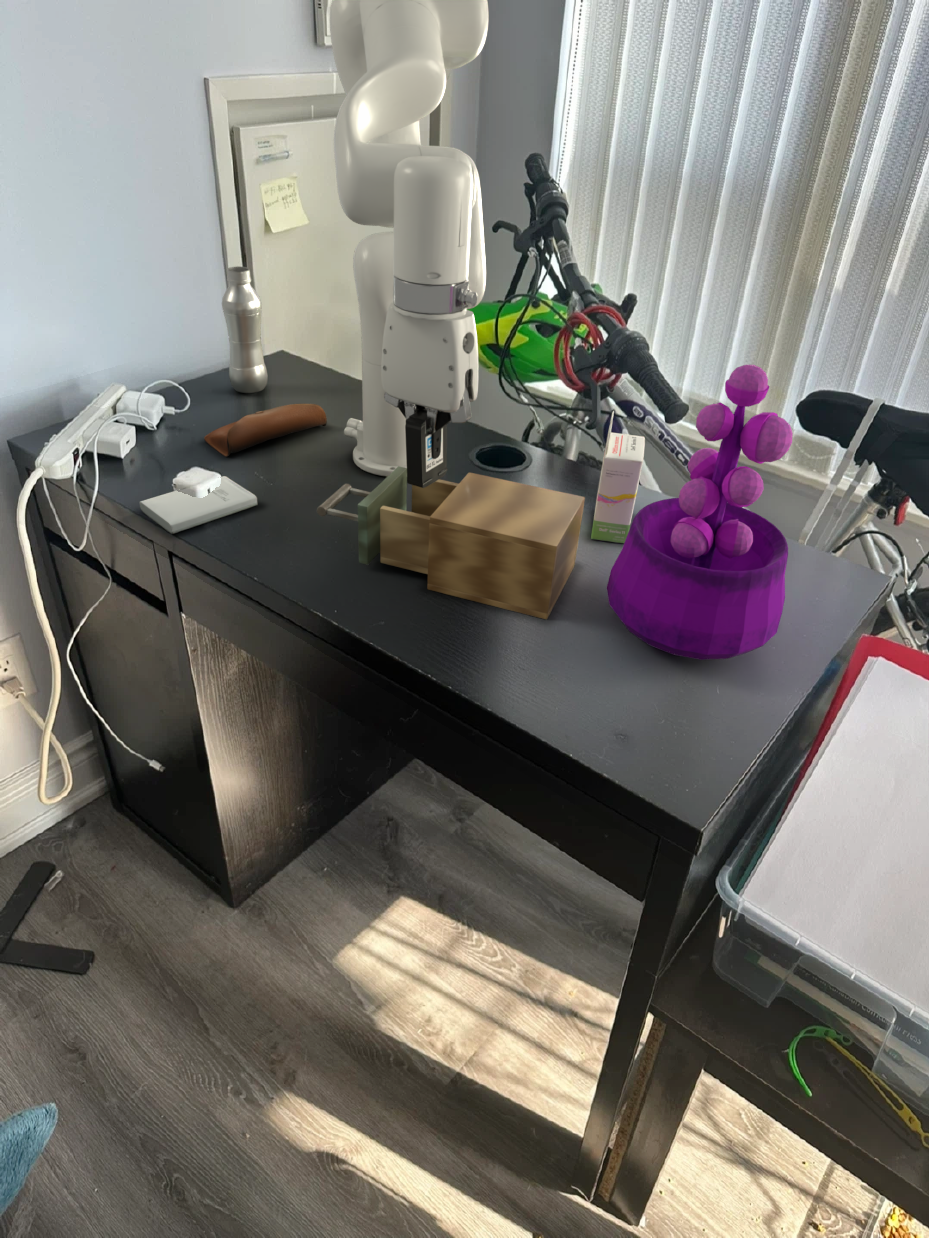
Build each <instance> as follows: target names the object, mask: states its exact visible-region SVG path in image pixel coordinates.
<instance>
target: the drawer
mask: <svg viewBox="0 0 929 1238" xmlns="http://www.w3.org/2000/svg"><path fill="white" fill-rule="evenodd" d="M458 484H459V483H457V482H453V481H449V480H445V479H441V478H440V479H439V480H437V481H435V482H434V483H432V484H430V485H429V486H427V487H425V488H421V487H418V486H415V485H411V511H408V510H407V498H408V494H407V493H408V492H407V491H408V490H407V489H408V483H407V468H404V467H400V466H398V467H397V468H396V469H395V470H394V471H393V472H392V473H391V474H390V475H389V476H386V477H385V478H384V479H383V480H382V481H381V482H380V483H379V484H377V486H376V487H375V488H374V489H373V490H372V491H367V490H363V489H357V488H354V487H352V485H351V484H350V483H344V484H343V485H341V487H339V489H337V490H335V492H334V493H332V494H331V495H330V496H329V497H328V498H327V499H326V500H324V501H323V502H322V503H321V504H320V505H319V506H318V507H317V508H316V513H317V514H318V516H320V517H326V516H327V515H328V516H333V517H336V518H340V519H344V520H349V521H354V522H357V536H358V540H357V541H358V563H359V564H363V565H366V566H369V565H370V563H371V562H372V561H374V559H375V558H376V557H377V556H378V554H379V553H380V554H379V555H380V556H379V557H380V562H379V563H381V564H385V565H388V566H393V567H397V568H400V569H405V570H409V571H413V572H417V573H421V574H425V575H428V553H429V524H430V523H429V521H430V516H431V515H432V514H433V513H434V512H435V511H436V509H437V508H438V507H439V506H440V505H441V504H442V503H443V501H444V500H445V499H446V498H447V497H448V496H449V495H450V493H451V492H452V491H453V490H454V489H455V488H456V487H457V485H458ZM349 495H353V496H357V497H362V498H363V499H362V500H361V501H360V502H359V503H358V504H357V514H356V513H351V512H347V511H343V510H339V509H335V508H336V507H337V506H338V505H339V504H340V503H341V502H342V501H343V500H344V499H346V498H347V497H348V496H349Z"/></svg>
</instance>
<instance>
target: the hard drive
mask: <svg viewBox="0 0 929 1238" xmlns="http://www.w3.org/2000/svg"><path fill="white" fill-rule="evenodd" d="M219 477H220V478H221V484H220V486H219V487H216V488H215V490H213V491H212V492H210V493H209V494H208V495H207V496H205V497H203V498H197V497H192V496H190V495H188V494H184V493H182V492H178V491H177V490H178V489H176V490H173V491H170V492H166V493H163V494H161V495H157V496H154V497H151V498H147V499H144V500H141V501H139V508H140V511H141V512H142V513H143V514H144V515H146V516H147V517H148V518H149V519H150V520H152V521H153V522H155V523H156V524H158V526H160V527H162V529H164V530H165V531H167V532H168V533H169V534H171V535H174V534H177V533H179V532H183V531H186V530H188V529H191V528H194V527H197V526H200V525H203V524H206V523H209V522H211V521H212V522H213V521H214V520H217V519H220V518H224V517H226V516H230V515H233V514H235V513H238V512H241V511H244V510H248V509H250V508H253V507H255V506H258V497H257V495H255V494H254V493H252V492H251V491H249V490H248V489H247V488H245V487H243V486H242V485H240V484H238V483H237V482H235V481H234V480H232V479H230V478H229V477H228V476H225V475H222V476H219Z"/></svg>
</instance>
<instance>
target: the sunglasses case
mask: <svg viewBox="0 0 929 1238" xmlns="http://www.w3.org/2000/svg"><path fill="white" fill-rule="evenodd" d="M327 424H328V417H327V414H326V412H325V410H324V409H323V408H322V406H320V405H319V404H317V403H293V404H292V403H291V404H285V405H280V406H276V407H273V408H269V409H265V410H261V411H259V410H258V411H256V412H255V413H251V414H247V415H245V416H242V417H241V418H240V419H239V420H236V421H234V422H231V423H228V424H226V425H223V426H220V427H219V428H216V429H214V430H212V431H210V432H209V433H208V434H206V435H205V436H203V439H204V442H206V443H207V444H208V446H210V447H211V448H212V449H213V450H215V451H216V452H218V453H219V454H221V455H222V456H224V457H225V458H227V457H229V456H230V455H231V454H235V453H236V454H237V453H238V452H241V451H244V450H247V449H249V448H252V447H254V446H256V445H259V444H263V443H264V442H266V441H268V440H274V439H277V438H281V437H284V436H287V435H290V434H292V433H299V432H301V431H305V430H309V429H311V428H315V427H319V426H322V427H326V426H327Z"/></svg>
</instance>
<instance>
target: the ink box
mask: <svg viewBox="0 0 929 1238" xmlns="http://www.w3.org/2000/svg"><path fill="white" fill-rule="evenodd" d="M614 413H615V411H614V410H613V411H612V412H611V417H610V421H609V427H608V432H607V437H606V443H605V447H604V453H603V458H602V464H601V468H600V469H601V470H600V475H599V481H598V486H597V494H596V501H595V507H594V514H593V515H594V516H593V522H592V528H591V535H590V539H591V540H596V541H603V542H609V543H610V542H611V543H616V544H617V543H619V544H624V543H625V540H626V538H627V535H628V532H629V530H630V527H631V524H632V520H633V513H634V508H635V503H636V498H637V494H638V489H639V483H640V479H641V473H642V469H643V463H644V456H645V445H646V439H645V436H641V435H635V434H627V433H618V432H612V427H613V419H614Z"/></svg>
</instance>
